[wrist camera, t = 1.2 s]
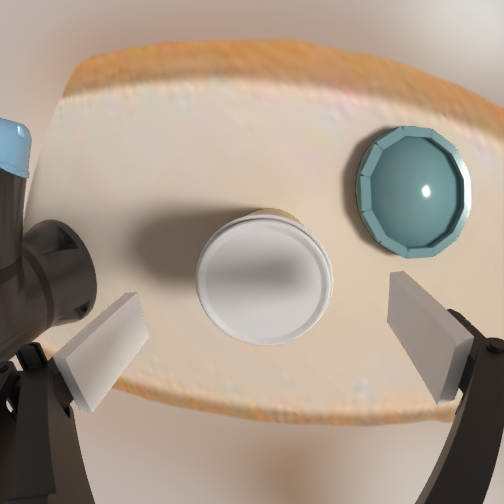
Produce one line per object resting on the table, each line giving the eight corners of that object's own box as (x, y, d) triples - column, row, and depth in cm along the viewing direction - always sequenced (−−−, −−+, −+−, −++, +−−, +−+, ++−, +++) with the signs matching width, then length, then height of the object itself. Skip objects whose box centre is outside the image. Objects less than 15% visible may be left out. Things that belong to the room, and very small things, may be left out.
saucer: (356, 259, 30) (360, 263, 28) (350, 124, 26) (353, 122, 25) (462, 252, 28) (469, 255, 26) (461, 132, 24) (468, 131, 23)
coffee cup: (208, 249, 31) (166, 291, 20) (265, 180, 29) (253, 184, 17) (274, 304, 32) (268, 370, 20) (334, 241, 29) (363, 282, 18)
